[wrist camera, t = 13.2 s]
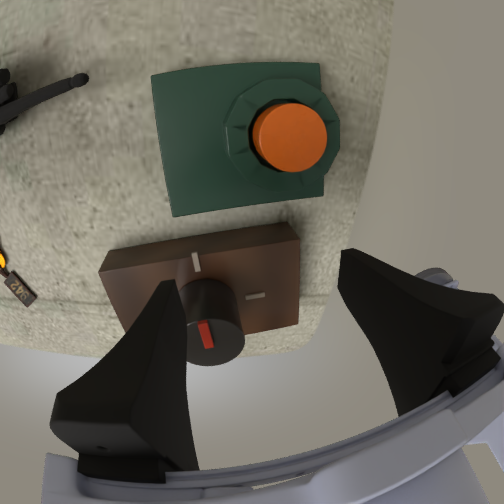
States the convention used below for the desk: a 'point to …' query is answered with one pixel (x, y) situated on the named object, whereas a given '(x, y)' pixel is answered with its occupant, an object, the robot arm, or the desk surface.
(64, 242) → the desk surface
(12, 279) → the key tag
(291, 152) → the button
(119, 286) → the lock panel
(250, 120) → the button block
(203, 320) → the knob
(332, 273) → the desk surface
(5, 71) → the walkie-talkie
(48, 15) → the desk surface
